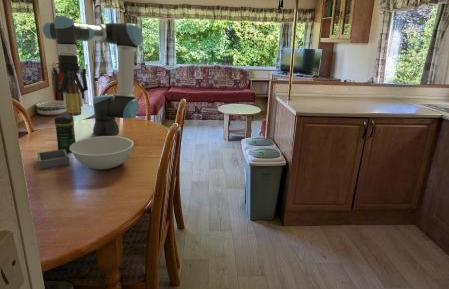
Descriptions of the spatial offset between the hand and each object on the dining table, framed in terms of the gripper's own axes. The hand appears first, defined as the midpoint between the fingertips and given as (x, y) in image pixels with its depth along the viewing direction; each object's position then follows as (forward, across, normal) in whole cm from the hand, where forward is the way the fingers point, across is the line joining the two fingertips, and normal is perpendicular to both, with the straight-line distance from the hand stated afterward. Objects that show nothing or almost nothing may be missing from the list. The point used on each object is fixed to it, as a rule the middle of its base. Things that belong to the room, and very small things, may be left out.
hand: (73, 106), depth 144 cm
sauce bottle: (+4, 0, 0) cm, 4 cm away
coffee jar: (+26, -1, +15) cm, 30 cm away
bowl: (+26, +7, -15) cm, 31 cm away
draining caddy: (+26, -11, 0) cm, 28 cm away
